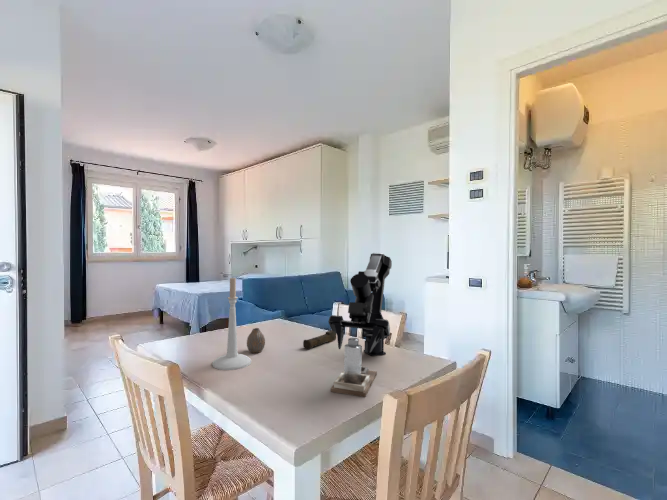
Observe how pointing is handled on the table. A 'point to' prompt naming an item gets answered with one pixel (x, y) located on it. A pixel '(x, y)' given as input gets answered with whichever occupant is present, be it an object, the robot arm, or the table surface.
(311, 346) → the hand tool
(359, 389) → the socket board
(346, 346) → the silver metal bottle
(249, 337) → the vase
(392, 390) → the table surface
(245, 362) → the candlestick
